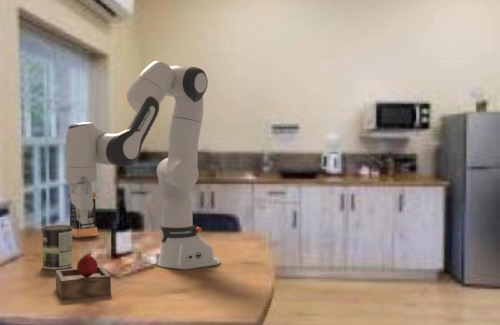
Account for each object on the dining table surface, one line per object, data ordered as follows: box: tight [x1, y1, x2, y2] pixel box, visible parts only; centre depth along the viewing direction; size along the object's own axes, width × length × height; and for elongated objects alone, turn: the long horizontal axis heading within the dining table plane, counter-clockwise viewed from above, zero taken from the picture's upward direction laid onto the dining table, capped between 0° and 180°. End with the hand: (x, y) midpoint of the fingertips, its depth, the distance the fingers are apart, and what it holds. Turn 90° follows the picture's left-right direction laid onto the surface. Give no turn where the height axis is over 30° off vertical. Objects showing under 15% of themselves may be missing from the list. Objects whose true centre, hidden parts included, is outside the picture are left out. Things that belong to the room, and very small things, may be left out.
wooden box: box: [55, 265, 112, 301], centre depth 177 cm, size 14×14×6 cm
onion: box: [76, 252, 98, 277], centre depth 175 cm, size 6×6×8 cm
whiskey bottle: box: [68, 191, 98, 239], centre depth 272 cm, size 10×10×32 cm
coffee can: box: [41, 224, 73, 270], centre depth 210 cm, size 10×10×14 cm
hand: (81, 222), depth 176 cm, fingers open, 5 cm apart
